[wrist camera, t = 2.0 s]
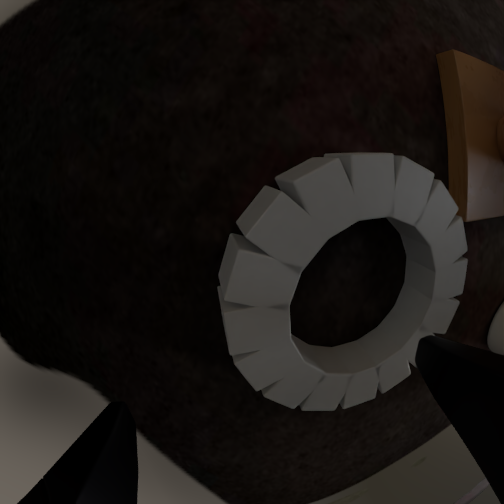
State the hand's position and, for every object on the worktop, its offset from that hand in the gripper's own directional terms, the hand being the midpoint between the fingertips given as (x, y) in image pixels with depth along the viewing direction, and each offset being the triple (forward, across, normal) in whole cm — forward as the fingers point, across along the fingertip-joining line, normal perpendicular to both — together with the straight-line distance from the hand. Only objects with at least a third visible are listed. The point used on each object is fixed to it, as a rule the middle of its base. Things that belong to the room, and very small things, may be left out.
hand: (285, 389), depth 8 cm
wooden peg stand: (+6, -16, -7) cm, 18 cm away
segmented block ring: (+6, -5, 0) cm, 7 cm away
